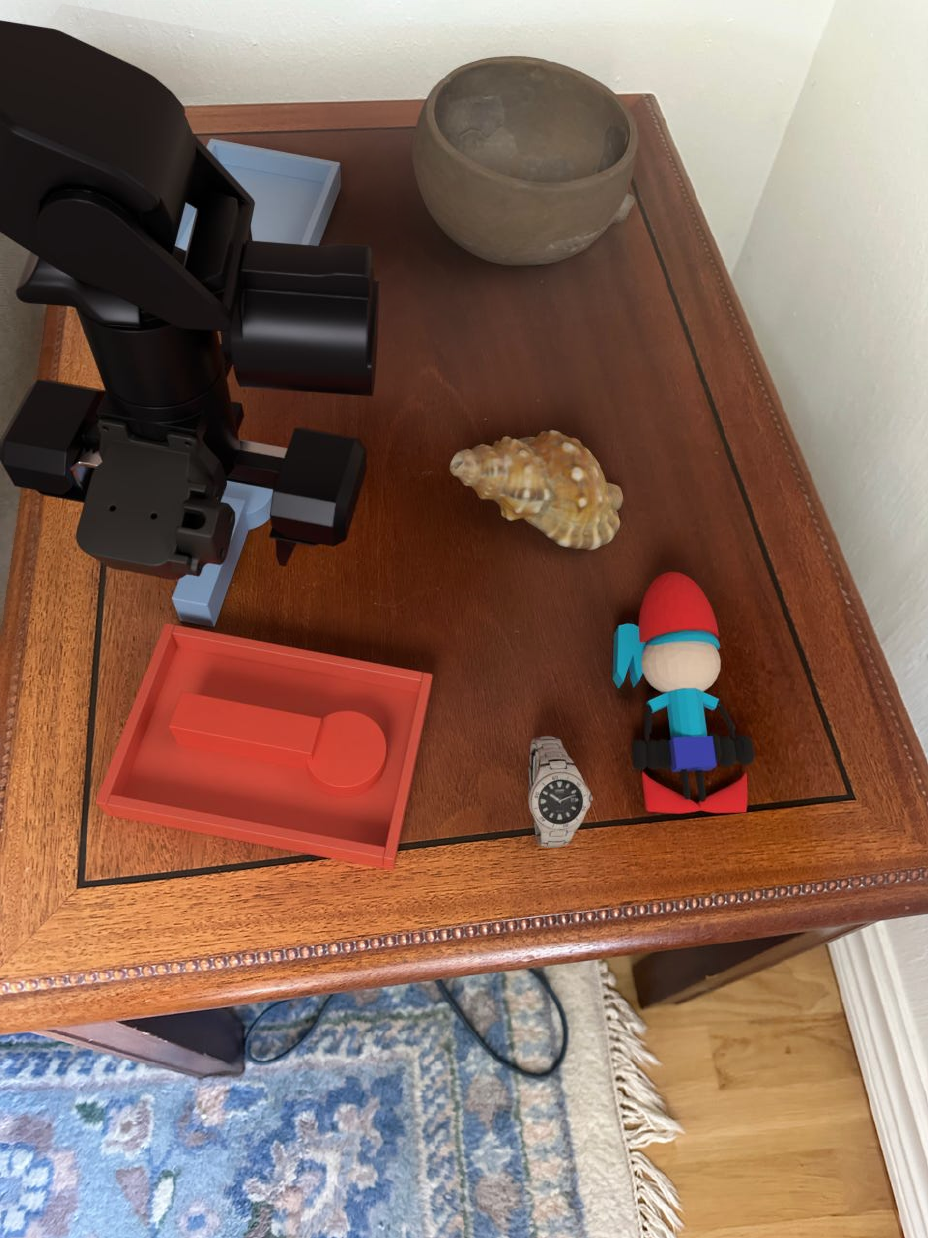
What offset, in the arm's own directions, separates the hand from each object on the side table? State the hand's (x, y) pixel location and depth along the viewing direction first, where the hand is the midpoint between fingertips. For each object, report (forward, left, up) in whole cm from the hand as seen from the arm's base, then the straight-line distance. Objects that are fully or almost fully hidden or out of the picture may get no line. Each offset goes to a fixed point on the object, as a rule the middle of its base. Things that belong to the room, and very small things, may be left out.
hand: (212, 546), depth 56 cm
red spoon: (+8, -11, -2) cm, 14 cm away
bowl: (+14, +39, -2) cm, 41 cm away
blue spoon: (0, +1, -2) cm, 3 cm away
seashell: (+20, +9, -2) cm, 22 cm away
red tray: (+7, -11, -2) cm, 14 cm away
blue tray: (-7, +32, -2) cm, 32 cm away
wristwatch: (+23, -11, -2) cm, 26 cm away
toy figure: (+30, -3, -2) cm, 30 cm away
